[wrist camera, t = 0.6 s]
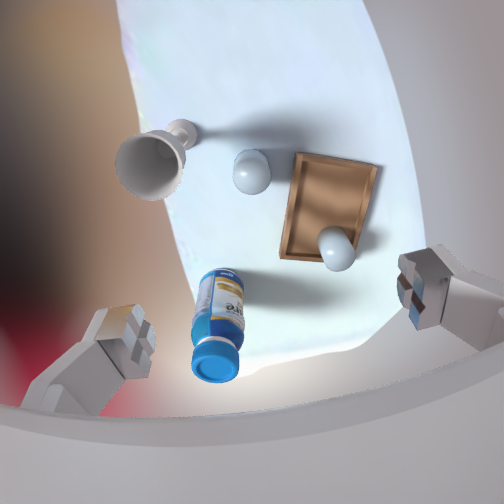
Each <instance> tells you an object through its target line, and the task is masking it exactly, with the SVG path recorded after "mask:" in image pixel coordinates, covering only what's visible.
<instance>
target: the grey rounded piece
mask: <svg viewBox="0 0 504 504" xmlns="http://www.w3.org/2000/svg"><path fill="white" fill-rule="evenodd" d="M270 181H271V172H270V168H269V165H268V161H267V159H266V157H265V155H264V154H263V153H261V152H260V151H258V150H254V149H248V150H245V151H242V152H241V153H240V154H239V155H238V156H237V157H236V159H235V162H234V170H233V182H234V184H235V186H236V188H237V189H238V190H239V191H241V192H242V193H245V194H248V195H256V194H259V193H261V192H263V191H264V190H266V188H267V187H268V186H269V184H270Z"/></svg>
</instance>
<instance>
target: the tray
mask: <svg viewBox="0 0 504 504" xmlns="http://www.w3.org/2000/svg"><path fill="white" fill-rule="evenodd" d="M376 172H377V167H376V166H374V165H373V164H368V163H363V162H357V161H352V160H346V159H340V158H334V157H328V156H322V155H315V154H308V153H301V152H296V153H295V159H294V166H293V172H292V178H291V184H290V190H289V197H288V203H287V209H286V214H285V220H284V226H283V232H282V238H281V243H280V249H279V256H280V259H287V260H299V261H312V262H324V260H323V258H322V255H321V253H320V250H319V248H318V245H317V236H318V234H319V233H320V231H321V230H322V229H324V228H326V227H328V226H337V227H340V228H341V229H342V230H343V231H344V232H345V234H346V236H347V238H348V239H349V241H350V243H351V245H352V246H353V248H354V250H356V247H357V243H358V240H359V236H360V233H361V230H362V226H363V222H364V219H365V215H366V211H367V208H368V204H369V200H370V196H371V192H372V188H373V184H374V180H375V176H376Z"/></svg>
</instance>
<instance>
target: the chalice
mask: <svg viewBox="0 0 504 504" xmlns="http://www.w3.org/2000/svg"><path fill="white" fill-rule="evenodd" d="M196 140H197V130H196V127H195V126H194V125H193V123H191V122H190V121H188V120H184V119H177V120H175V121H173V122H171V123H170V124H169V125H168V127H167V128H166V131H163V130H153V131H150V132H147V133H140V134H137V135H134V136H132V137H129V138H128V139H127V140H126V141H125V142H123V143H122V144H121V146H120V148H119V150H118V152H117V154H116V160H115V167H116V173H117V176H118V178H119V180H120V182H121V184H122V185H123V186H124V187H125V188H126V189H127V190H128V191H129V192H130V193H132V194H133V195H135V196H136V197H139V198H142V199H145V200H159V199H163V198H166V197H168V196H169V195H171V194H172V193H173V192H175V190H176V189H177V187H178V186H179V184H180V182H181V178H182V174H183V170H182V169H183V168H184V165H185V161H186V156H185V151H186V150H188V149H190V148H191V147H193V146H194V144H195V143H196Z"/></svg>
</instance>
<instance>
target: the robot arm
mask: <svg viewBox="0 0 504 504" xmlns="http://www.w3.org/2000/svg"><path fill="white" fill-rule="evenodd" d="M398 267H399V269H400V270H401V273H400V275H399V276H398V278H397V291H398V296H399V299H400V302H401V303H402V305H403V307H405V308H407V309H409V310H410V311H409V318H410V319H411V321H412V323H413V324H414V326H415V328H416V330H417V331H418V330H422V329H425V328H429V327H432V326H436V325H440V324H441V326H442V327H444V328H445V329H447V330H448V331H450V332H451V333H453V334H454V335H456V336H457V337H459V338H460V339H462V340H463V341H465V342H466V343H468V344H469V345H471V346H472V347H474V348H475V349H477V350H478V351H480V352H478V353H476V354H474V355H471V356H468V357H466V358H463V359H461V360H458V361H456V362H453V363H450V364H448V365H445V366H442V367H439V368H436V369H434V370H431V371H428V372H425V373H422V374H419V375H416V376H413V377H410V378H406V379H403V380H400V381H396V382H393V383H390V384H386V385H382V386H379V387H375V388H371V389H367V390H364V391H360V392H355V393H351V394H347V395H343V396H338V397H334V398H329V399H324V400H320V401H315V402H309V403H304V404H298V405H292V406H286V407H280V408H273V409H266V410H258V411H250V412H242V413H232V414H222V415H209V416H193V417H171V418H123V417H98V415H99V413H100V412H101V411H102V410H103V408H104V407H105V406H106V405H107V403H108V402H109V401H110V400H111V398H112V397H113V396H114V394H115V393H116V392H117V391H118V390H119V388H120V387H121V386H122V385H123V383H124V382H125V380H126V379H139V378H147V377H148V375H149V371H150V367H151V360H150V358H149V356H151V354H152V353H153V352H154V351H155V346H156V336H155V333H154V330H153V328H152V326H151V324H150V323H148V322H147V321H145V320H144V316H145V313H144V311H143V309H142V307H141V306H140V305H137V304H134V305H126V306H118V307H112V308H103V309H100V310H97V311H96V313H95V315H94V317H93V319H92V321H91V323H90V325H89V327H88V329H87V331H86V333H85V335H84V337H83V339H82V341H81V342H77V343H76V344H75V345H74V346H73V347H71V348H70V349H69V350H68V351H67V352H66V353H64V354H63V355H62V356H61V357H60V358H59V359H57V360H56V361H55V362H54V363H53V364H52V365H51V366H49V367H48V368H47V369H46V370H45V371H44V372H42V373H41V374H40V375H39V376H38V377H37V378H35V379H34V380H33V381H32V382H31V384H30V386H29V389H28V391H27V393H26V395H25V397H24V399H23V402H22V404H21V406H20V408H18V407H13V406H7V405H2V404H0V504H504V283H503V282H501V281H499V280H496V279H494V278H491V277H489V276H486V275H484V274H481V273H478V272H476V271H473V270H471V271H468V270H467V269H466V268H465V267H464V266H463V265H462V264H461V263H460V261H459V260H458V259H457V258H456V257H455V256H454V255H453V254H452V253H451V252H450V251H449V250H448V249H447V248H446V247H445V246H444V245H442V244H439V245H436V246H432V247H428V248H426V249H422V250H418V251H414V252H409V253H405V254H401V255H400V256H399V259H398Z"/></svg>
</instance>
